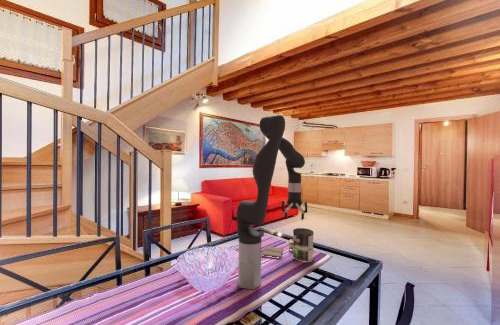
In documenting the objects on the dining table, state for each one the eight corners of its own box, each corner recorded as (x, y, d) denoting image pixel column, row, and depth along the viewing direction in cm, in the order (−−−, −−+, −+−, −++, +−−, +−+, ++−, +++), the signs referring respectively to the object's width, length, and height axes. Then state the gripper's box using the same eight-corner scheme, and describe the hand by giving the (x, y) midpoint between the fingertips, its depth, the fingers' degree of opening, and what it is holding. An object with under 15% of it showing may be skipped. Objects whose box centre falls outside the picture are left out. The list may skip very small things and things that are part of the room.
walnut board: (280, 258, 119) (280, 256, 119) (261, 256, 121) (261, 254, 121) (282, 250, 131) (282, 248, 131) (265, 248, 133) (265, 246, 133)
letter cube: (298, 251, 129) (298, 242, 129) (289, 251, 130) (289, 241, 130) (298, 248, 134) (298, 239, 134) (289, 247, 135) (289, 238, 135)
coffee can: (298, 263, 114) (299, 234, 114) (289, 255, 124) (289, 228, 124) (317, 261, 117) (317, 233, 117) (306, 253, 127) (306, 227, 127)
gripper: (281, 191, 130) (281, 220, 130) (307, 192, 127) (307, 222, 127) (282, 189, 137) (282, 217, 137) (307, 190, 134) (307, 218, 134)
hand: (294, 219), depth 132 cm, fingers open, 8 cm apart
